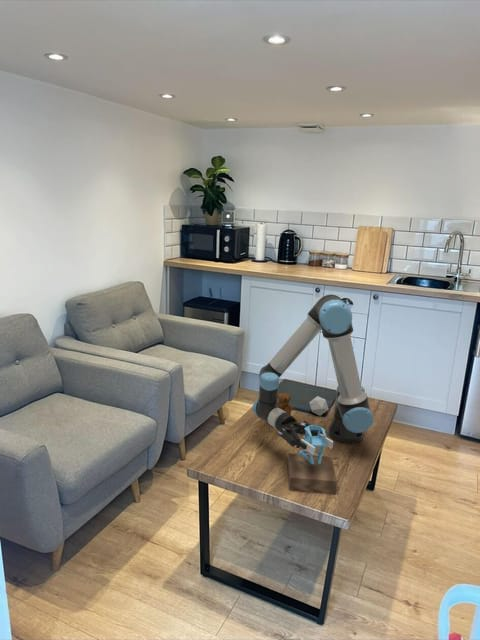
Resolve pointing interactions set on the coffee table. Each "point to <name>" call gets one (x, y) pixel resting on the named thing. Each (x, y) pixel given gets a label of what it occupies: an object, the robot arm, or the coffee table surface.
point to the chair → (314, 443)
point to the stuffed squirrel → (285, 403)
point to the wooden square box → (311, 474)
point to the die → (318, 405)
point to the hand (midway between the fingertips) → (323, 448)
